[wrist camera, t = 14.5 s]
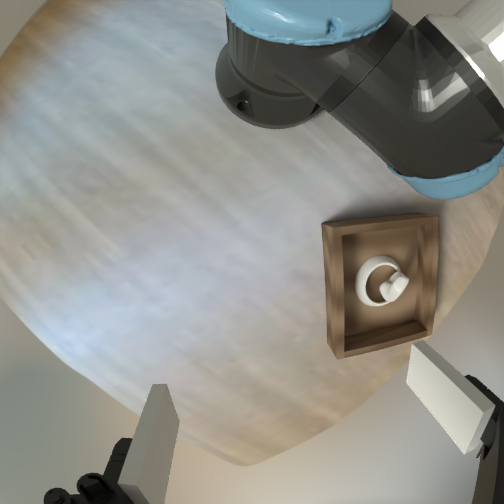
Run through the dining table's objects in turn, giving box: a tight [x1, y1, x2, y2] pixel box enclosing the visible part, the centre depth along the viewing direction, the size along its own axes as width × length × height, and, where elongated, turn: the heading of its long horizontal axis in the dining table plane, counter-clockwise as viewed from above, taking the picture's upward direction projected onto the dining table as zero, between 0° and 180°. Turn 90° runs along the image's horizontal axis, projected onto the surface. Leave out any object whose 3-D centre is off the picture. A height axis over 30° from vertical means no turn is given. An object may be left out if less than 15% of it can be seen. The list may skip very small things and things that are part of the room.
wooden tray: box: [321, 213, 439, 359], centre depth 39 cm, size 18×16×5 cm
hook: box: [355, 255, 409, 306], centre depth 37 cm, size 8×12×7 cm
